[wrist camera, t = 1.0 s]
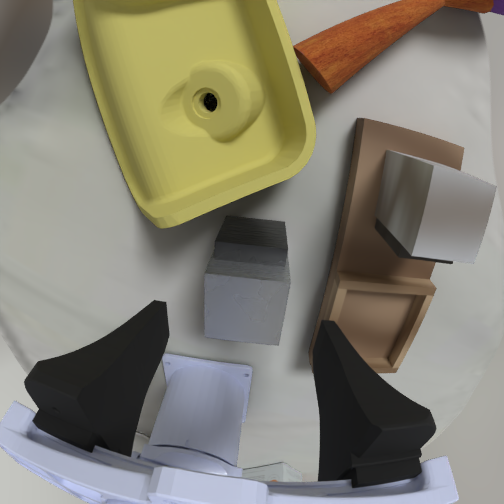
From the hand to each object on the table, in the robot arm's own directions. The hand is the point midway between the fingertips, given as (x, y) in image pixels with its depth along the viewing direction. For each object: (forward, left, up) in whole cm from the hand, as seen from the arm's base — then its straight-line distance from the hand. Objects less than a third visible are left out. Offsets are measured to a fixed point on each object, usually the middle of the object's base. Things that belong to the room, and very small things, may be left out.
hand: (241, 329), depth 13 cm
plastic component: (+14, +5, -8) cm, 17 cm away
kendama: (+21, -7, -5) cm, 23 cm away
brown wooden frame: (+1, -9, -7) cm, 12 cm away
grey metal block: (0, 0, -7) cm, 7 cm away
